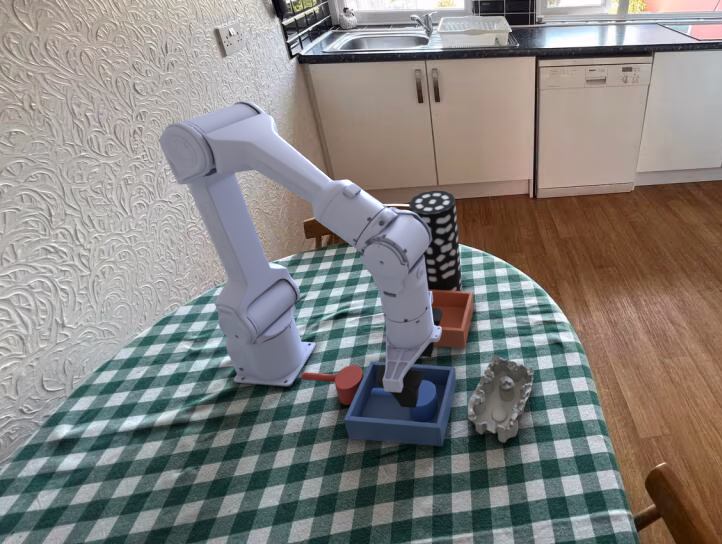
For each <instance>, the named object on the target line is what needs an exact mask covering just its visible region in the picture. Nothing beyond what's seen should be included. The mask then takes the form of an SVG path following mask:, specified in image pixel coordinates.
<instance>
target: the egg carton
mask: <svg viewBox="0 0 722 544" xmlns="http://www.w3.org/2000/svg"><path fill="white" fill-rule="evenodd" d="M534 373H535V370H534V369H533V368H532V367H530V368H529V367H526V366H525V365H524V364H523V363H517V361H514V360H511V359H509V358H503V357H502V356H500V355H497V354H493V356H492V357H491V359H490V361H489V363H488V365H487V368H486V369H485V370H484V374H482V375H481V377H480V380H479V382H478V383H477V385H476V387H475V389H474V391H473V392H472V395H471V396H470V398H469V400H468V402H467V419H468V420H469V421H471V422H472V423H473V424H474V425H475V431H476V432H477V433H478V434H480V435H483V434H484V433H485V432H486V431H489V432H491V433H493V434H496V433H497V438H498V441H499V442H501V443H503V444H504V443H506V442H507V440H508V439H510V438H515V437H516V436H517V434H518V432H519V431H518V430H519V427H520V426H519V421H518V419H517V418H518V416H520V415H524V413H525V409H526V402H527V400H528V399H529V397H530V394H531V393H532V388H533V381H534V379H535V376H534Z"/></svg>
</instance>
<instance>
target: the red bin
mask: <svg viewBox="0 0 722 544" xmlns="http://www.w3.org/2000/svg"><path fill="white" fill-rule="evenodd" d="M428 291H432V295H433V303H432V305H431V306H432V308H439V309H441V310H442V314H443V315H442V318H441V321H440V324H439V326H440V327H441V328H442V334H441V337H440V340H439V341H438V342H434V347H444V348H458V349H459V348H460V349H465V348H466V344H467V340H468V336H469V332H470V328H471V324H472V323H471V322H472V318H473V314H474V309H475V304H474V301H475V300H474V292H473V291H465V290H460V291H448V290H431V289H428Z"/></svg>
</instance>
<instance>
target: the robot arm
mask: <svg viewBox="0 0 722 544" xmlns="http://www.w3.org/2000/svg"><path fill="white" fill-rule="evenodd" d="M158 143H159V145H160V148H161V150H162V153H163V155H164V157H165V159H166V162H167V164H168V166H169V168H170V171H171V172H172V175H173V177H174V178H175V180H176V182H177V184H178V185H180V186H181V185H186V186H187V188H188V190H189V192H190V195H191V197H192V200H193V201H194V204H195V206H196V209H197V211H198V212H199V216H200V218H201V220H202V222H203V224H204V227H205V229H206V231H207V233H208V236H209V238H210V240H211V242H212V245H213V247H214V249H215V252H216V254H217V256H218V259H219V261H220V263H221V266H222V268H223V270H224V272H225V275H226V278H227V280H226V281H225V283H224V285H223V287H222V289H221V291H220V293H219V294H218V296H217V298H215V299H216V300H215V302H214V305H215V308H216V311H217V320H218V321H217V323H218V326H219V329H220V330H221V332H222V333H223V334H224V336H226V340H225V350H226V352H227V355H228V357H229V359H230V361H231V364H232V365H233V368H234V370H235V373H236V375H235V376H234V377H233V382H234V383H239V384H251V385H262V386H263V385H265V386H277V387H291V386H292V385H293V383H294V382H295V380H296V378H297V377H298V375H299V374H300V372H301V370H302V369H303V368H304V366H305V364H306V362H307V361H308V359H309V357H310V356H311V354H312V353H313V351H314V350H315V348H316V346H317V345H316V343H315V342H311V341H302V338H301V336H300V333H299V329H298V326H297V323H296V320H295V316H294V313H295V312H296V310H297V307H296V305H295V304H296V303H298V301H300V298H301V291H300V288H299V285H298V284H297V282H296V281H295V279H294V278H292V276H291V274H290V273H289V270H288V268H287V267H285V266H283V265H281V264H278V263H275V262H269V260H268V258H267V255H266V253H265V250H264V247H263V245H262V242H261V239H260V236H259V234H258V231H257V229H256V226H255V224H254V220H253V218H252V216H251V215H252V214H251V213H250V210H249V208H248V205H247V202H246V200H245V197H244V195H243V192H242V189H241V186H240V184H239V181H238V178H237V176H236V173H241V172H242V173H243V172H248V171H256V172H257V173H259V174H260V175H263V176H264V177H266V178H267V179H270V180H271V181H273V182H274V183H276V184H278V185H279V186H280V187H283V188H284V189H286V190H288V191H289V192H291V193H292V194H294V195H296V196H298V197H299V198H301V199H303V200H304V201H306V202H308V203H310V204H311V208H312V213H313V217H314V220H316V221H317V222H318V223H320V224H321V225H322V226H323V227H325V228H326V229H328V230H329V231H331V232H332V233H334V234H335V235H336V236H337V237H339V238H341V240H343V241H345V242H346V243H347V244H349V245H350V246H352V247H353V248H355V249H356V250H357V251H359V253H361V255H360V256H359V257H360V261H361V263H362V265H363V266H364V268H365V269H366V270H367V272H368V273H369V274H370V275H371V277H372V280H373V284H374V286H375V287H376V290H378V291H379V298H380V303H381V308H382V313H383V318H384V319H383V320H384V324H385V331H386V332H385V362H386V365H381V366H380V368H379V371H378V373H377V376H376V382H377V385H378V386H379V387H381V388H384V391H388V392H390V393H391V394H392V395H393V396H394V397H395V398H396V400H397V401H398V403H399V404H400V406H401V407H410V408H415V407H416V405H417V401H418V395H419V387H420V385H421V382H422V379H423V376H424V373H425V371H420V370H412V369H411V366H412V365H413V364H415V363H416V361H417V360H418V359H419V358H420V357H422V358H432V356H433V352H434V349H435V348H434V347H435V346H434V342H438V341H439V340H440V337H441V334H442V328H441V327H440V326H439V324H440V321H441V318H442V315H443V314H442V310H441V309H439V308H432V306H431V305H432V303H433V295H432V291H428V284H427V275H426V266H425V258H424V255H423V253H424V252H425V251H426V249H427V248H428V246H429V245H430V243H431V238H432V236H431V231H430V229H429V227H428V225H427V224H426V222H425V221H424V220H423V219H422V218H420V217H419V216H418V215H417V214H416V213H414V212H412V211H410V210H407V209H398V208H397V207H395V206H394V207H393V206H390V207H388V206H386V205H385V204H384V203H382V202H380V201H379V200H378V199H377V198H375V197H374V196H372V195H371V194H369V193H368V192H367V191H365V190H364V189H363V188H361V187H360V186H359V185H357V184H355V183H354V182H352V181H351V180H349V179H338V180H333V179H331V178H330V176H328V175H327V174H325V173H324V172H323V171H322V170H320V169H319V167H317V166H316V165H314V163H312V162H311V161H310V160H309V159H308V158H307V157H305V156H304V155H303V154H302V153H301V152H300V151H298V150H297V149H296V148H294V147H293V146H292V145H291V144H290V143H289V142H287V141H286V140H285V139H284V138H282V137H281V136H280V135H279V130H278V127H277V124H276V122H275V119H274V117H273V116H272V115H269V114H268V113H266V112H265V111H264V110H263V109H262V108H261V106H258V105H257V104H255V103H254V102H252V101H248V100H240V101H237V102H235V103H233V104H232V105H228V106H225V107H222V108H220V109H216V110H213V111H210V112H207V113H204V114H201V115H197V116H195V117H192V118H189V119H186V120H183V121H176V122H173V123H169V124H168V125H166V127H165V128H164V130H163V131H162V133H161V135H160V137H159V139H158Z"/></svg>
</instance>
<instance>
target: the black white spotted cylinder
mask: <svg viewBox="0 0 722 544" xmlns="http://www.w3.org/2000/svg"><path fill="white" fill-rule="evenodd" d="M456 203H457V202H456V197H455V196H454V195H453V193H450V192H448V191H445V190H428V191H424V192H421V193H419V194H416V195H414V197H412V198H411V199H410V201H409V202H408V206H409V211H412V212H414V213H416V214H417V215H418V216H419V217H420V218H422V219H423V220H424V221H425V222H426V224H427V225H428V227H429V229H430V231H431V236H432V238H431V243H430V245H429V246H428V248H427V249H426V251H425V252H424V253H423V255H424V258H425V266H426V275H427V284H428V289H431V290H448V291H462V287H463V281H462V268H461V267H462V266H461V255H460V254H461V253H460V243H459V241H460V240H459V231H458V230H459V228H458V218H457V217H458V216H457V215H458V214H457V205H456Z"/></svg>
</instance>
